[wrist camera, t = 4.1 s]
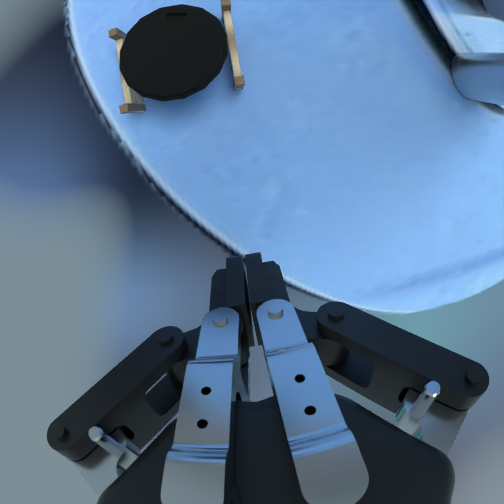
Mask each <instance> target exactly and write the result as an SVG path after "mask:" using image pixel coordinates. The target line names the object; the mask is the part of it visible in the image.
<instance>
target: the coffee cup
mask: <svg viewBox="0 0 504 504" xmlns="http://www.w3.org/2000/svg"><path fill="white" fill-rule="evenodd" d="M227 55H228V50H227V34H226V32H225V30H224V28H223V27H222V25H221V23H220V21H219V20H218V18H216V17H215V16H214V15H212V14H211V13H209V12H208V11H206V10H204V9H203V8H200V7H195V6H189V5H183V4H180V5H174V6H168V7H163V8H159V9H157V10H155V11H153V12H151V13H149V14H148V15H146V16H144V17H142V18H141V19H140V20H139V21H138V22H137V23H136V24H135V25H134V26H133V27H132V28H131V29H130V31H129V32H128V33H127V35H126V37H125V40H124V42H123V44H122V47H121V49H120V71H121V73H122V75H123V77H124V79H125V81H126V83H127V85H128V86H129V87H130V88H131V89H133V90H134V91H135V92H137V93H138V94H139V95H141V96H142V97H146V98H151V99H155V100H159V101H169V100H177V99H184V98H186V97H188V96H190V95H192V94H194V93H196V92H198V91H200V90H202V89H204V88H205V87H206V86H207V85H208V84H209V83H210V82H211V81H212V80H213V79H214V78H215V77H216V76H217V75H218V74H219V73H220V71H221V69H222V66H223V64H224V62H225V59H226V57H227Z"/></svg>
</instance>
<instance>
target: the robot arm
mask: <svg viewBox="0 0 504 504" xmlns="http://www.w3.org/2000/svg"><path fill="white" fill-rule="evenodd" d="M451 72H452V77H453V80H454V83H455V85H456V87H457V89H458V90H459V92H460V93H461V94H462V95H463V96H464V97H465V98H467V99H472V100H477V101H481V102H488V103H493V104H498V105H503V106H504V53H459V54H456V55H455V56H454V57H453V59H452V63H451ZM245 260H246V270H247V279H246V273H245V268H244V263H243V258H242V255H240V256H234V257H228V258H226V269H220V270H217V271H216V272H215V273H214V275H213V276H212V284H211V285H212V286H211V296H210V309H209V313H207V314H206V315H205V317H204V318H203V321H202V325H201V326H199V327H198V328H196V329H193V330H191V331H188V332H185V333H183V332H182V331H181V330H180V329H179V328H177V327H174V326H168V327H164V328H161V329H159V330H157V331H156V332H154V333H153V334H152V335H151V336H150V337H149V338H147V340H145V341H144V342H143V343H142V344H141V345H139V346H138V347H137V348H136V349H135V350H134V351H133V352H131V353H130V354H129V355H128V356H127V357H126V358H125V359H124V360H122V361H121V362H120V363H119V364H118V365H117V366H116V367H114V368H113V369H112V370H111V371H110V372H109V373H107V374H106V375H105V376H104V377H103V378H102V379H101V380H99V381H98V382H97V383H96V384H95V385H94V386H93V387H92V388H90V389H89V390H88V391H87V392H86V393H85V394H84V395H82V396H81V397H80V398H79V399H78V400H77V401H76V402H75V403H74V404H72V405H71V406H70V407H69V408H68V409H67V410H65V411H64V412H63V413H62V414H61V415H60V416H59V417H58V418H57V419H55V420H54V421H53V422H52V423H51V424H50V426H49V428H48V431H47V440H48V443H49V445H50V446H51V447H52V448H53V449H54V450H56V451H57V452H59V453H60V454H62V455H63V456H65V457H66V458H67V459H68V460H70V461H71V462H73V463H74V464H75V465H76V467H77V468H78V470H79V471H80V473H81V474H82V475H83V477H84V478H85V479H86V481H87V482H88V483H89V484H90V486H91V487H92V488H93V489H94V491H95V492H96V493H97V494H98V495H99V500H98V502H97V504H451V498H452V493H453V489H454V483H455V473H454V468H453V465H452V463H451V461H450V459H449V458H448V457H447V455H448V453H449V451H450V449H451V447H452V445H453V443H454V441H455V439H456V437H457V435H458V433H459V431H460V428H461V426H462V424H463V422H464V419H465V417H466V415H467V412H468V411H469V410H470V408H471V407H472V406H473V405H474V404H475V403H476V402H477V401H478V399H479V398H480V397H481V396H482V395H483V393H484V392H485V391H486V389H487V388H488V385H489V376H488V373H487V371H486V369H485V368H484V367H483V366H482V365H481V364H479V363H477V362H475V361H473V360H471V359H468V358H466V357H464V356H461V355H459V354H457V353H455V352H452V351H450V350H448V349H446V348H444V347H441V346H439V345H436V344H435V343H432V342H430V341H428V340H425V339H423V338H421V337H419V336H417V335H414V334H412V333H410V332H407V331H406V330H403V329H401V328H399V327H397V326H394V325H392V324H390V323H388V322H386V321H383V320H381V319H379V318H377V317H374V316H372V315H370V314H368V313H366V312H363V311H361V310H359V309H357V308H355V307H352V306H350V305H348V304H346V303H343V302H329V303H326V304H324V305H322V306H321V307H320V308H319V309H318V311H317V312H307V311H301V310H298V309H297V308H295V307H294V306H293V305H292V304H291V303H290V300H289V297H288V294H287V290H286V287H285V283H284V280H283V276H282V273H281V270H280V266H279V265H278V264H276V263H275V262H274V261H269V262H263V263H262V258H261V253H260V252H258V253H252V254H246V255H245ZM247 280H248V284H247ZM248 289H249V290H248ZM250 306H251V307H250ZM251 311H252V316H253V321H254V326H255V331H256V336H257V341H258V345H262V346H263V351H264V356H265V361H266V366H267V370H268V374H269V379H270V383H271V387H272V391H273V396H272V397H269V398H267V399H264V400H261V401H258V402H251V400H250V359H249V357H250V351H249V347H251V346H254V335H253V326H252V317H251ZM165 373H166V376H165V377H164V378H163V379H162V380H160V381H159V382H158V384H156V385H155V386H154V387H153V388H152V389H151V390H150V391H149V392H148V393H147V394H146V392H147V390H148V389H149V388H150V387H151V386H152V385H153V384H155V383H156V381H158V380H159V379H160V378H161V376H163V375H164V374H165ZM326 374H327V375H328V376H330V377H332V378H333V379H335V380H337V381H338V382H340V383H342V384H343V385H345V386H347V387H349V388H350V389H352V390H354V391H355V392H357V393H359V394H361V395H362V396H364V397H366V398H368V399H370V400H371V401H373V402H375V403H377V404H379V405H380V406H382V407H384V408H386V409H388V410H390V411H392V412H393V413H395V414H396V422H397V425H398V426H399V427H400V428H398V427H396V426H394V425H393V424H391V423H389V422H387V421H386V420H384V419H382V418H381V417H379V416H377V415H375V414H374V413H372V412H371V411H369V410H367V409H366V408H364V407H362V406H361V405H359V404H357V403H356V402H354V401H353V400H351V399H348V398H346V397H344V396H340V395H337V394H334V393H333V391H332V388H331V386H330V383H329V381H328V378H327V376H326ZM145 394H146V395H145ZM177 412H178V417H177V418H176V419H175V420H174V421H172V422H171V423H170V424H169V425H168V426H167V427H166V428H165V429H164V430H163V431H162V433H161V434H160V435H159V436H158V437H157V438H156V439H155V440H154V441H153V442H152V443H151V444H150V445H149V446H148V447H147V448H146V449H145V450H144V452H142V453H141V452H140V450H141V449H142V448H143V447H144V446H145V445H146V444H147V443H148V442H149V441H150V440H151V439H152V438H153V437H154V436H155V435H156V434H157V433H158V432H159V431H160V430H161V429H162V428H163V427H164V426H165V425H166V423H168V422H169V421H170V420H171V418H173V416H175V414H176V413H177Z"/></svg>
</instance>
